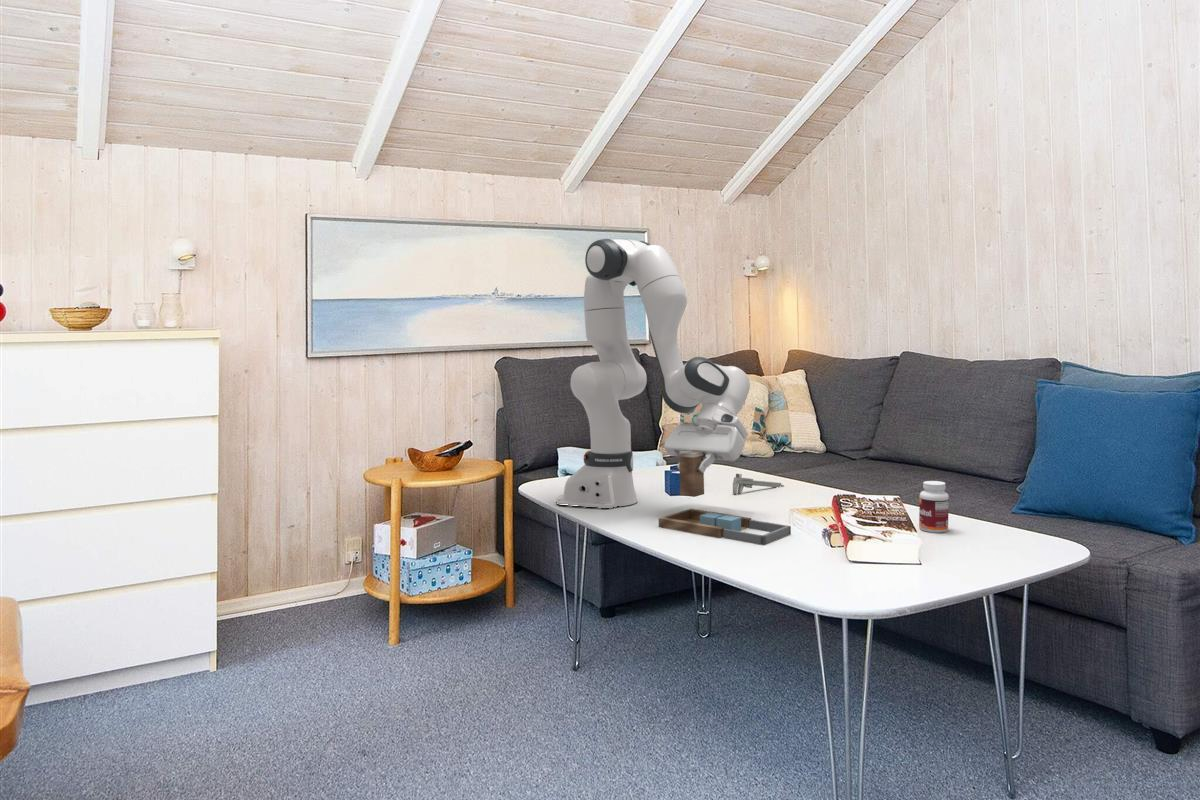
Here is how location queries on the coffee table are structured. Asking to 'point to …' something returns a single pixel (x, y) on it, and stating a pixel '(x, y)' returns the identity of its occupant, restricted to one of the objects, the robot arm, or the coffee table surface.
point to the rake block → (691, 474)
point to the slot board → (696, 523)
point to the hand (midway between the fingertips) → (690, 470)
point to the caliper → (750, 483)
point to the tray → (775, 534)
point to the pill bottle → (933, 507)
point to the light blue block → (729, 522)
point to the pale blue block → (709, 518)
